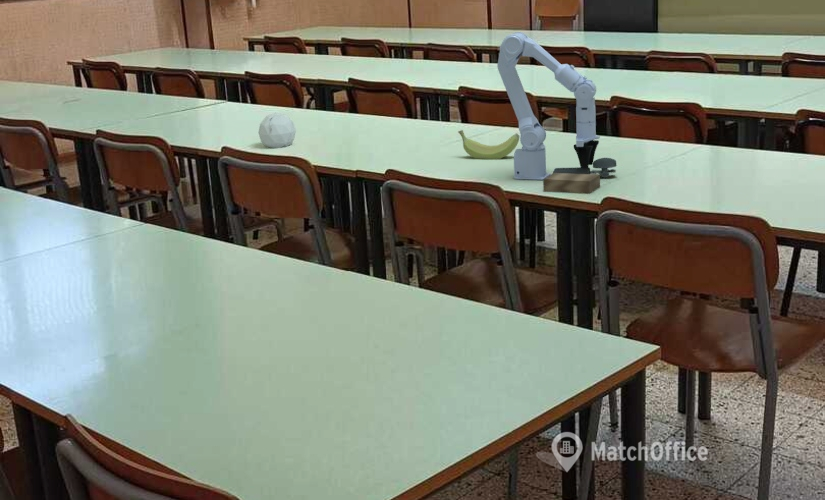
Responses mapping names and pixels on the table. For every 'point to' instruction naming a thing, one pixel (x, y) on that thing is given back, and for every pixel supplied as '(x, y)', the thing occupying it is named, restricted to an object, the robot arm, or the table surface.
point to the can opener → (599, 163)
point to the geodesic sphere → (277, 131)
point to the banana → (489, 148)
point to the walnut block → (571, 183)
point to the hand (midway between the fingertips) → (586, 166)
